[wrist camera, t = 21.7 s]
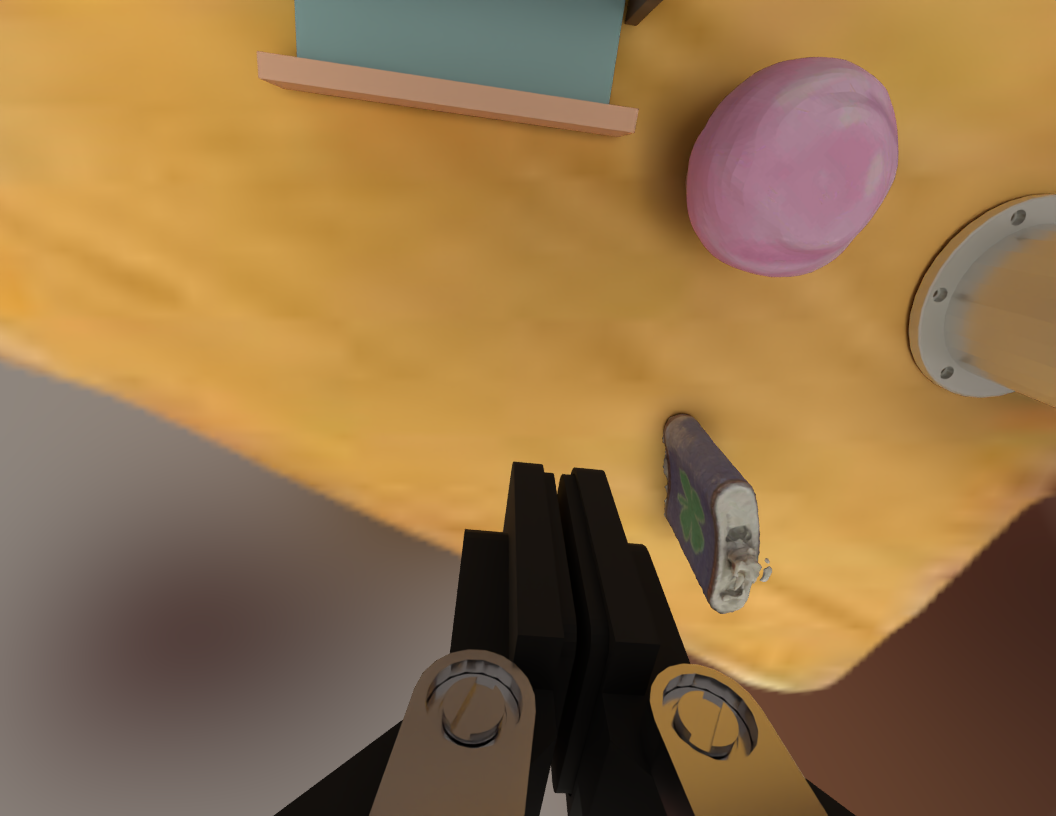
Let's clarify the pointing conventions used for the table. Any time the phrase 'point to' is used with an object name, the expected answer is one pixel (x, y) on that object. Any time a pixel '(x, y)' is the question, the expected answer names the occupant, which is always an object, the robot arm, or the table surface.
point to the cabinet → (639, 10)
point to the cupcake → (792, 166)
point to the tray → (463, 58)
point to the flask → (711, 515)
